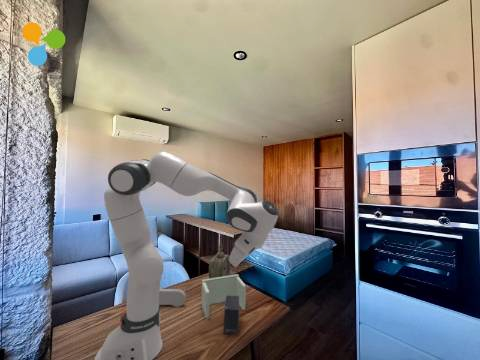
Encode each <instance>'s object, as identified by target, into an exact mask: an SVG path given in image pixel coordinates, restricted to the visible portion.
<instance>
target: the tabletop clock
mask: <svg viewBox="0 0 480 360" xmlns="http://www.w3.org/2000/svg"><path fill="white" fill-rule="evenodd" d="M220 247H221V248H220ZM223 247H224V246H223V244H222V243H221V244H219V246H218V248H217V250H218V251H217V253H216V254H215V255H214V256H213V257H211V258H210V260H209V262H208V264H209V265H208V279H210V278H217V277H223V276H229V275H231V263H230V262H229V257H230V254H225V253H224V251H223V249H224V248H223Z"/></svg>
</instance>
